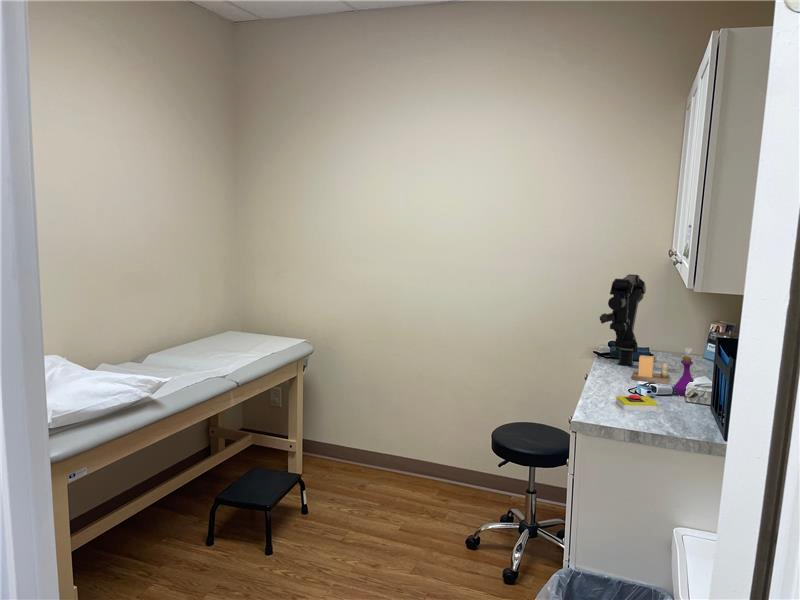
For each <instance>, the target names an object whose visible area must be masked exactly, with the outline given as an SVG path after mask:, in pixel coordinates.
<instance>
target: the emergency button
mask: <svg viewBox="0 0 800 600" xmlns="http://www.w3.org/2000/svg"><path fill="white" fill-rule="evenodd" d="M611 404H612V405H613V406H614V407H615V408H616V409H617V410H618V409H619V410H618V411H620V410H621V411H620V412H647V411H654V412H653V413H655V412H657V413H664V412H665V410H664V409H662V408H661V407H660V406H658V405H659V404H658V402H656V401H655V400H654V399H652V398H651V397H650V396H645V395H643V396H642V395H641V396H640V395H637V394H629V395H616V400H615V402H611Z"/></svg>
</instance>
